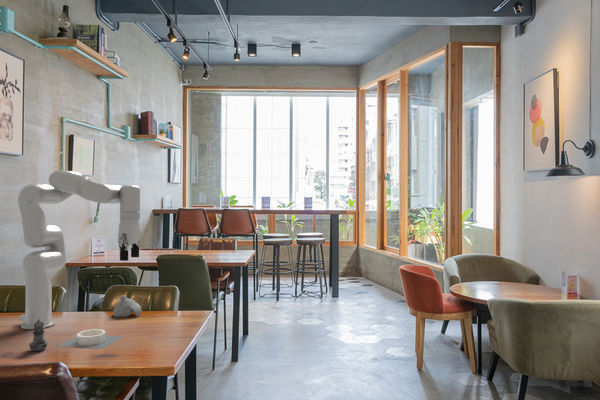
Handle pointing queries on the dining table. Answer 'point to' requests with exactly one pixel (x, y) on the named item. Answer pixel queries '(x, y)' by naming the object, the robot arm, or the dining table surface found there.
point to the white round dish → (91, 337)
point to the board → (102, 345)
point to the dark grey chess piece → (38, 337)
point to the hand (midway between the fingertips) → (129, 258)
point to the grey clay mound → (126, 307)
